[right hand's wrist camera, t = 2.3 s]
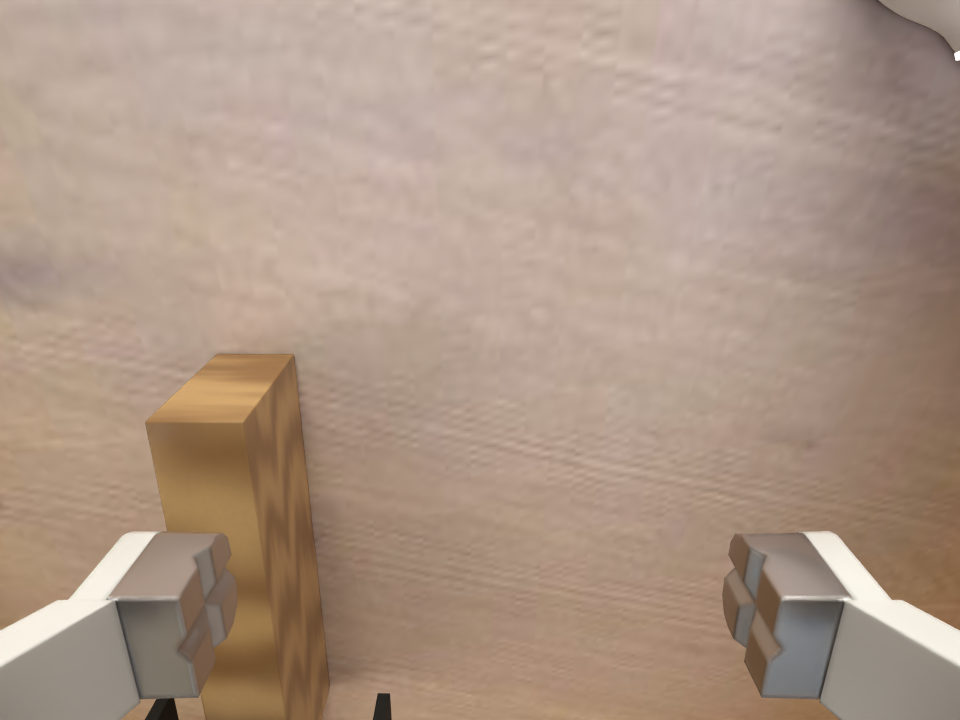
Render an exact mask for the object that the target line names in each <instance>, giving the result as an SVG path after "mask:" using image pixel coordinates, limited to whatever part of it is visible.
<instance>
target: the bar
mask: <svg viewBox="0 0 960 720" xmlns="http://www.w3.org/2000/svg"><path fill="white" fill-rule="evenodd" d="M145 424H146V429H147V434H148V439H149V444H150V448H151V453H152V458H153V463H154V468H155V473H156V478H157V483H158V488H159V492H160V497H161V502H162V507H163V512H164V517H165V522H166V527H167V532H206V533H223V534H224V535H226V536H227V537H228V540H229V545H230V549H231V554H232V555H231V557H230V559H229V561H228V562H227V564H226V566H225V568H226V569H227V570H228V571H229V572H230V573H231V574H232V575H233V576H234V577H235V578H236V585H237V609H236V613H235V618H234V623H233V626H232V628H231V630H230V632H229V635H228V637H227V639H225V640H224V641H223V642H221V643H220V644H219V645H217V646H216V647H215V648H213V649H214V654H215V660H216V662H215V664H214V666H213V668H212V670H211V672H210V675H209V677H208V679H207V681H206V683H205V685H204V687H203V689H202V691H201V698H202V703H203V708H204V713H205V718H206V720H321V719H322V715H323V711H324V707H325V703H326V699H327V695H328V691H329V688H330V683H329V674H328V665H327V656H326V646H325V637H324V628H323V619H322V610H321V600H320V591H319V582H318V573H317V563H316V554H315V545H314V536H313V526H312V517H311V508H310V499H309V490H308V480H307V471H306V462H305V453H304V443H303V434H302V425H301V416H300V406H299V397H298V388H297V379H296V370H295V360H294V355H293V354H217V355H216V356H214V357H213V358H212V359H211V360H210V361H209V362H208V363H207V364H206V365H205V366H204V367H203V368H202V369H201V370H200V371H199V372H197V373H196V374H195V375H194V376H193V377H192V378H191V379H190V380H189V381H188V382H187V383H186V384H185V385H184V386H183V387H182V388H181V389H179V390H178V391H177V392H176V393H175V394H174V395H173V396H172V397H171V398H170V399H169V400H168V401H167V402H166V403H165V404H164V405H163V406H161V407H160V408H159V409H158V410H157V411H156V412H155V413H154V414H153V415H152V416H151V417H150V418H149V419H148V420H147V421H146V422H145Z"/></svg>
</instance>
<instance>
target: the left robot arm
mask: <svg viewBox="0 0 960 720" xmlns="http://www.w3.org/2000/svg"><path fill="white" fill-rule="evenodd" d="M145 720H179V719H178V715H177V710H176V705H175V701H174V698H164V699H156V701H155V703H154V705H153V706H152V708H151V710H150V712H149V713H148V715H147V717H146V719H145ZM373 720H392V719H391V703H390V694H385V693H378V696H377V701H376V706H375V712H374V717H373Z"/></svg>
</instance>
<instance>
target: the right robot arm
mask: <svg viewBox="0 0 960 720" xmlns="http://www.w3.org/2000/svg"><path fill="white" fill-rule="evenodd" d="M878 1H880V2H881V3H882V4H883V5H885V6H886V7H887V8H889V9H890V10H892V11H893V12H895V13H896V14H898V15H900V16H902V17H904V18H906V19H909V20H911V21H913V22H916V23H918V24H921V25H923V26H926V27H928V28H930V29H932V30H934V31H936V32H937V33H939V34H940V35H942V36H943V37H944V38H945V40H946V41H947V42H948V44H949V45H950V46H951V48H952V49H953V50H954V52H955V58H956V60H960V0H878ZM231 555H232V554H231V549H230V545H229V540H228V537H227V536H226V535H224V534H223V533H206V532H143V531H132V532H129V533H126V534H124V535H123V536H122V537H121V538H120V539H119V540H118V541H117V543H116V544H115V545H114V546H113V547H112V548H111V550H110V551H109V552H108V553H107V554H106V556H105V557H104V558H103V559H102V560H101V562H100V563H99V564H98V565H97V566H96V567H95V569H94V570H93V571H92V572H91V573H90V575H89V576H88V577H87V578H86V579H85V581H84V582H83V583H82V584H81V585H80V586H79V588H78V589H77V590H76V591H75V592H74V594H73V595H72V596H71V597H70V598H69V600H57V601H55V602H53V603H51V604H49V605H48V606H46V607H44V608H42V609H40V610H38V611H36V612H34V613H32V614H31V615H29V616H27V617H25V618H23V619H21V620H19V621H17V622H15V623H14V624H12V625H10V626H8V627H6V628H4V629H2V630H0V720H121V719H122V718H123V717H124V716H125V715H126V714H127V713H129V712H130V711H131V710H132V709H133V708H134V707H136V706H137V705H138V704H139V703H140V699H164V698H198V697H199V695H200V693H201V691H202V689H203V687H204V685H205V683H206V681H207V679H208V677H209V675H210V672H211V670H212V668H213V666H214V664H215V662H216V660H215V654H214V649H213V648H215V647H216V646H217V645H219V644H220V643H221V642H223V641H224V640H225V639H227V637H228V635H229V632H230V630H231V628H232V626H233V623H234V618H235V613H236V609H237V585H236V578H235V577H234V576H233V575H232V574H231V573H230V572H229V571H228V570H227V569H226V568H225V566H226V564H227V562H228V561H229V559H230V557H231ZM728 555H729V557H730V559H731V561H732V562H733V564H734V566H735V568H734V569H733V570H732V571H731V572H730V573H729V574H728V575H727V576H726V577H725V578H724V586H723V594H722V597H723V608H724V615H725V619H726V622H727V626H728V628H729V630H730V632H731V635H732V637H733V639H735V640H736V641H737V642H739V643H740V644H741V645H743V646H744V647H745V648H747V649H746V654H745V660H744V662H745V664H746V666H747V668H748V670H749V672H750V674H751V677H752V679H753V681H754V683H755V685H756V687H757V689H758V691H759V693H760V695H761V697H762V698H795V699H820V703H821V704H823V705H824V706H825V707H826V708H827V709H828V710H829V711H831V712H832V713H833V714H834V715H835V716H836V717H837V718H839V719H840V720H960V630H958V629H956V628H954V627H952V626H950V625H948V624H946V623H944V622H943V621H941V620H939V619H937V618H935V617H933V616H931V615H929V614H927V613H926V612H924V611H922V610H920V609H918V608H916V607H914V606H912V605H910V604H909V603H907V602H905V601H903V600H891V598H890V597H889V596H888V595H887V594H886V592H885V591H884V590H883V589H882V588H881V586H880V585H879V584H878V583H877V582H876V581H875V579H874V578H873V577H872V576H871V575H870V573H869V572H868V571H867V570H866V569H865V568H864V566H863V565H862V564H861V563H860V562H859V560H858V559H857V558H856V557H855V556H854V554H853V553H852V552H851V551H850V550H849V549H848V547H847V546H846V545H845V544H844V543H843V541H842V540H841V539H840V538H839V537H838V536H837V535H836V534H834V533H832V532H830V531H815V532H798V533H736V534H734V536H733V538H732V540H731V543H730V549H729V554H728Z"/></svg>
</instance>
